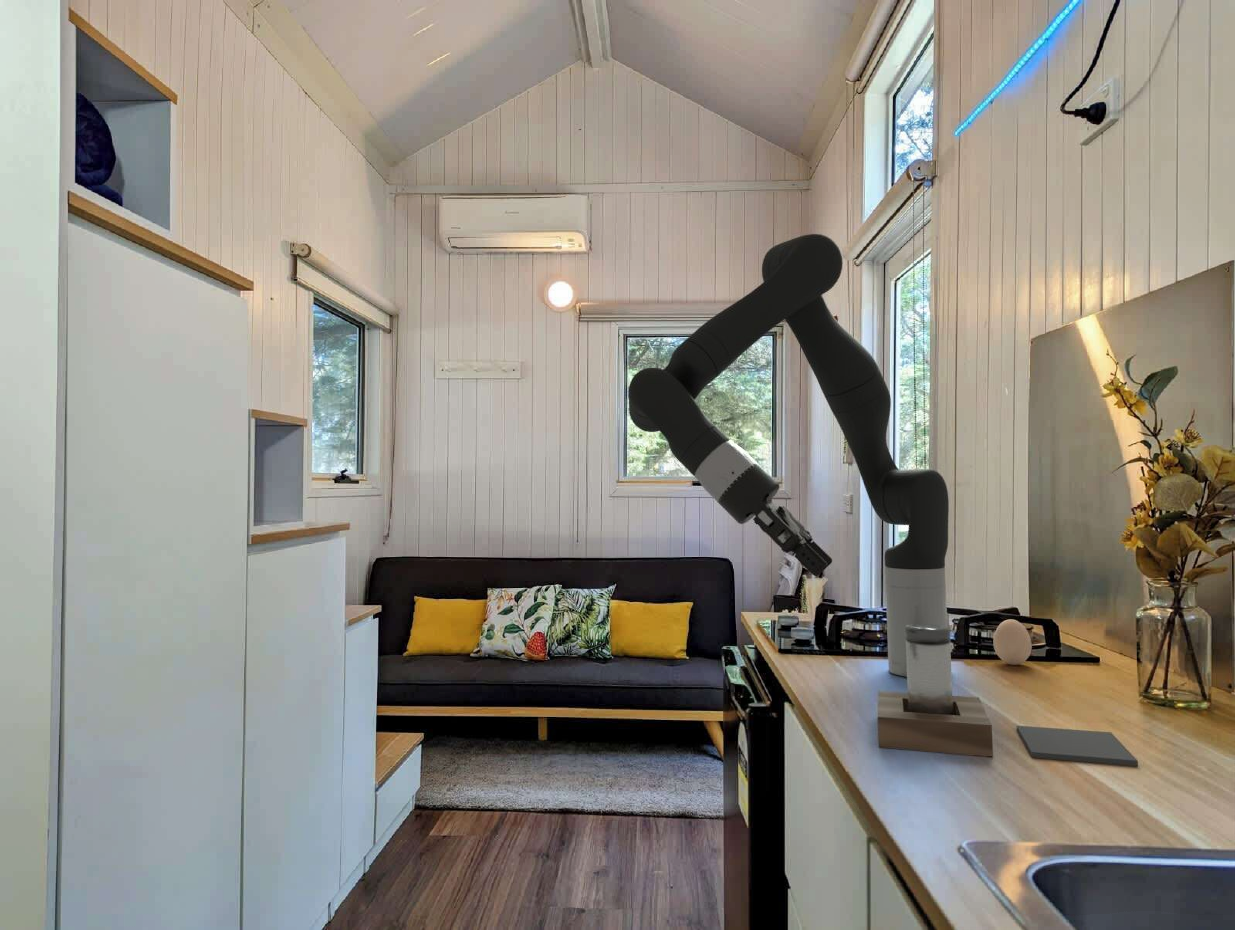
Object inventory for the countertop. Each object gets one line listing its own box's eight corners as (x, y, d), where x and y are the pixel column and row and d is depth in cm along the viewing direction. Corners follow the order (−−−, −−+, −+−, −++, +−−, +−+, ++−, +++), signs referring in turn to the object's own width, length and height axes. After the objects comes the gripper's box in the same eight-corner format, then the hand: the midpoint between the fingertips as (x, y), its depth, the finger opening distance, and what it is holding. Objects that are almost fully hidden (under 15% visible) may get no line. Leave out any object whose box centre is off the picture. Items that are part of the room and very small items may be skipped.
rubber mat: (1016, 730, 92) (1016, 725, 92) (1111, 737, 89) (1110, 732, 89) (1031, 757, 83) (1031, 751, 83) (1138, 766, 80) (1137, 760, 80)
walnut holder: (879, 718, 99) (878, 691, 99) (980, 725, 95) (978, 697, 95) (878, 747, 87) (877, 716, 87) (993, 757, 83) (991, 725, 83)
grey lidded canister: (923, 727, 94) (919, 622, 95) (962, 736, 90) (958, 627, 91) (900, 735, 91) (896, 627, 92) (939, 745, 87) (935, 633, 88)
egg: (1033, 669, 123) (1031, 623, 124) (994, 666, 126) (992, 621, 126) (1031, 662, 129) (1029, 617, 129) (993, 659, 131) (992, 616, 131)
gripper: (746, 458, 94) (843, 551, 90) (763, 464, 108) (849, 545, 103) (705, 500, 96) (798, 594, 91) (727, 501, 109) (809, 583, 105)
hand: (825, 568), depth 97 cm, fingers open, 8 cm apart
